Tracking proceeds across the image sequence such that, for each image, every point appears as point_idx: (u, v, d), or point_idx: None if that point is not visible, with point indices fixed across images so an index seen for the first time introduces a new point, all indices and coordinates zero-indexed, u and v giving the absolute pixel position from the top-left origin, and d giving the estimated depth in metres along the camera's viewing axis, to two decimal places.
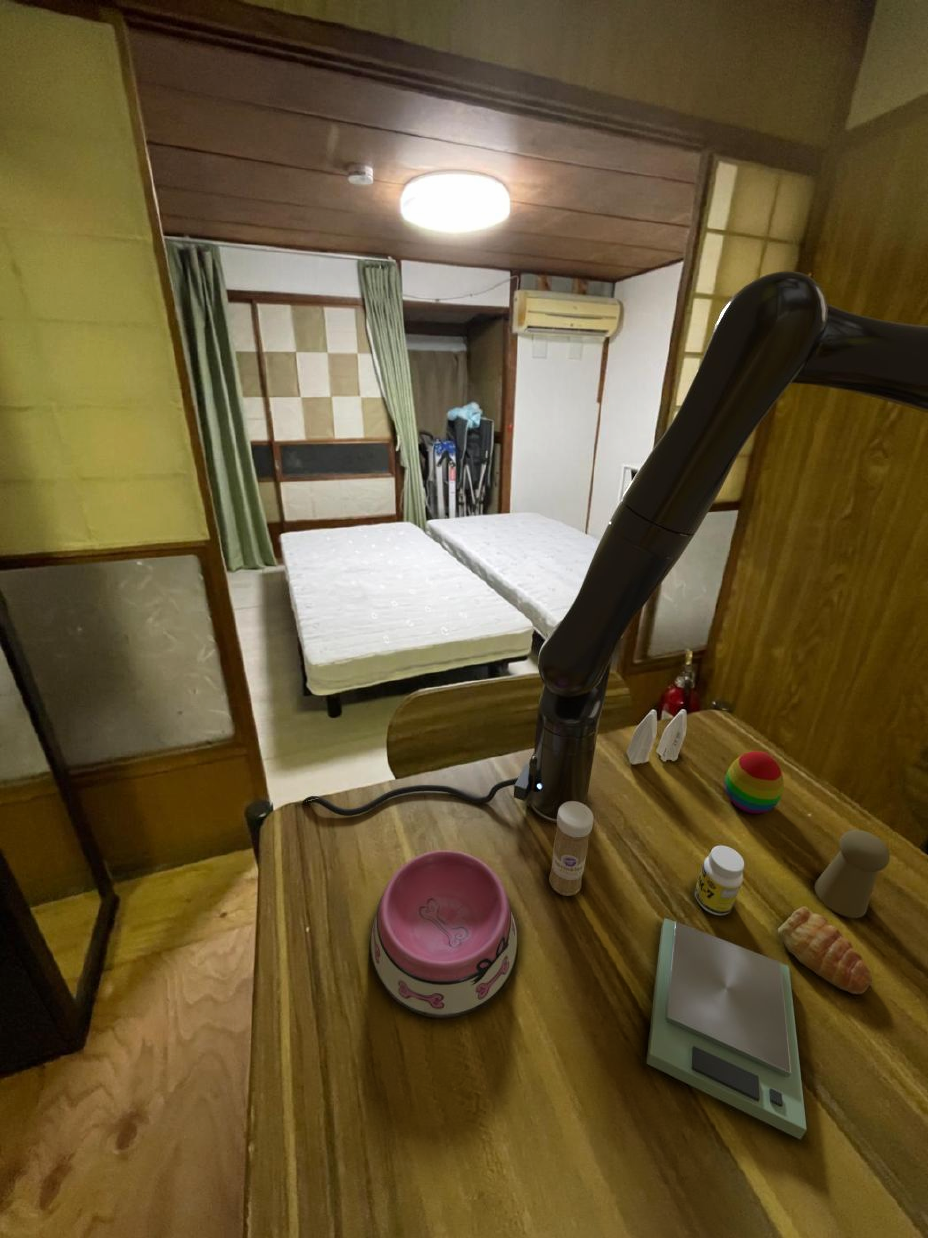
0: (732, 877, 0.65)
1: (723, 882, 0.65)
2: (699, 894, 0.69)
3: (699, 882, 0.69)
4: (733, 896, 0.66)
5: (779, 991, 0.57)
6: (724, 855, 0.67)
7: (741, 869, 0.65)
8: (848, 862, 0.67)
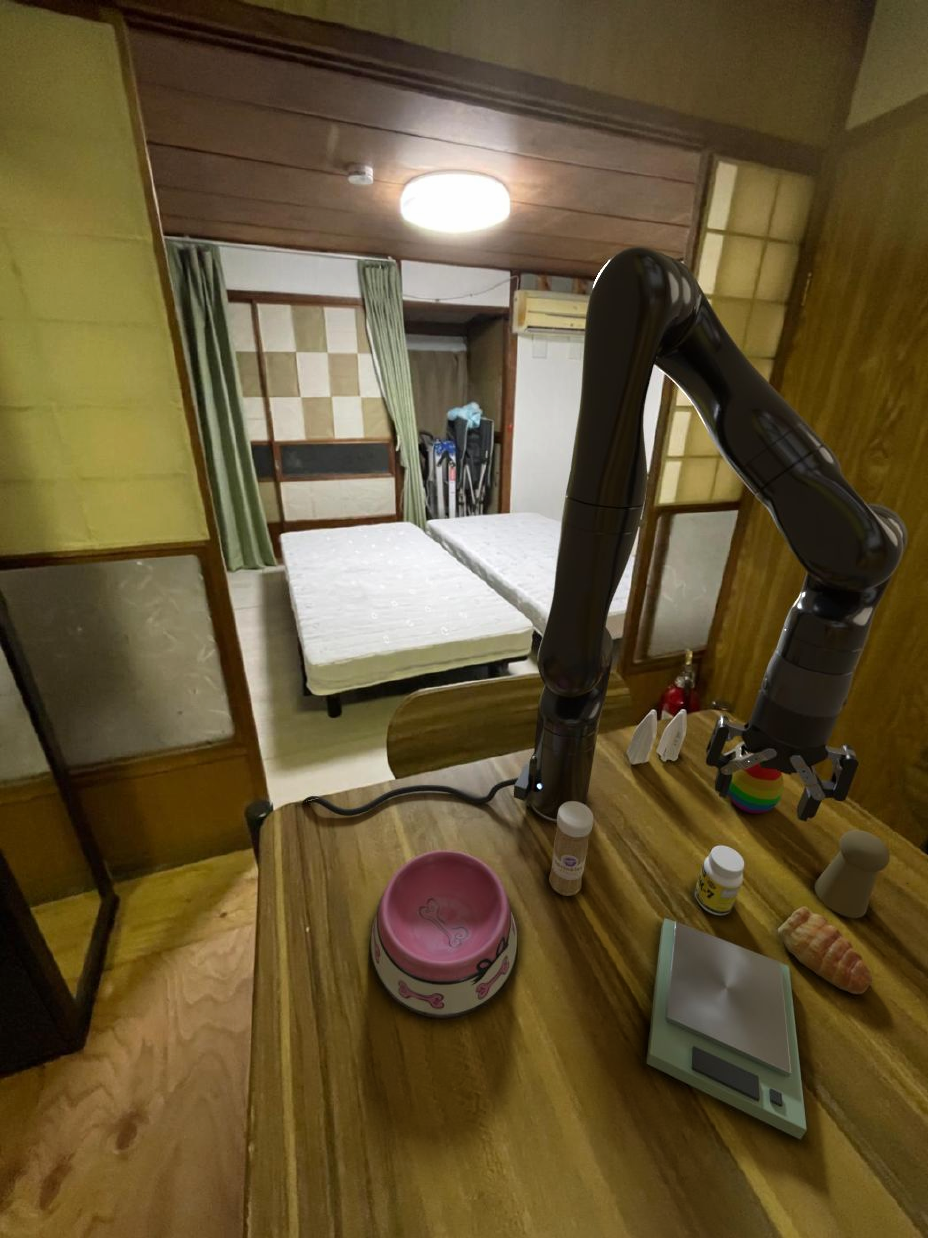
0: (732, 877, 0.65)
1: (723, 882, 0.65)
2: (699, 894, 0.69)
3: (699, 882, 0.69)
4: (733, 896, 0.66)
5: (779, 991, 0.57)
6: (724, 855, 0.67)
7: (741, 869, 0.65)
8: (848, 862, 0.67)
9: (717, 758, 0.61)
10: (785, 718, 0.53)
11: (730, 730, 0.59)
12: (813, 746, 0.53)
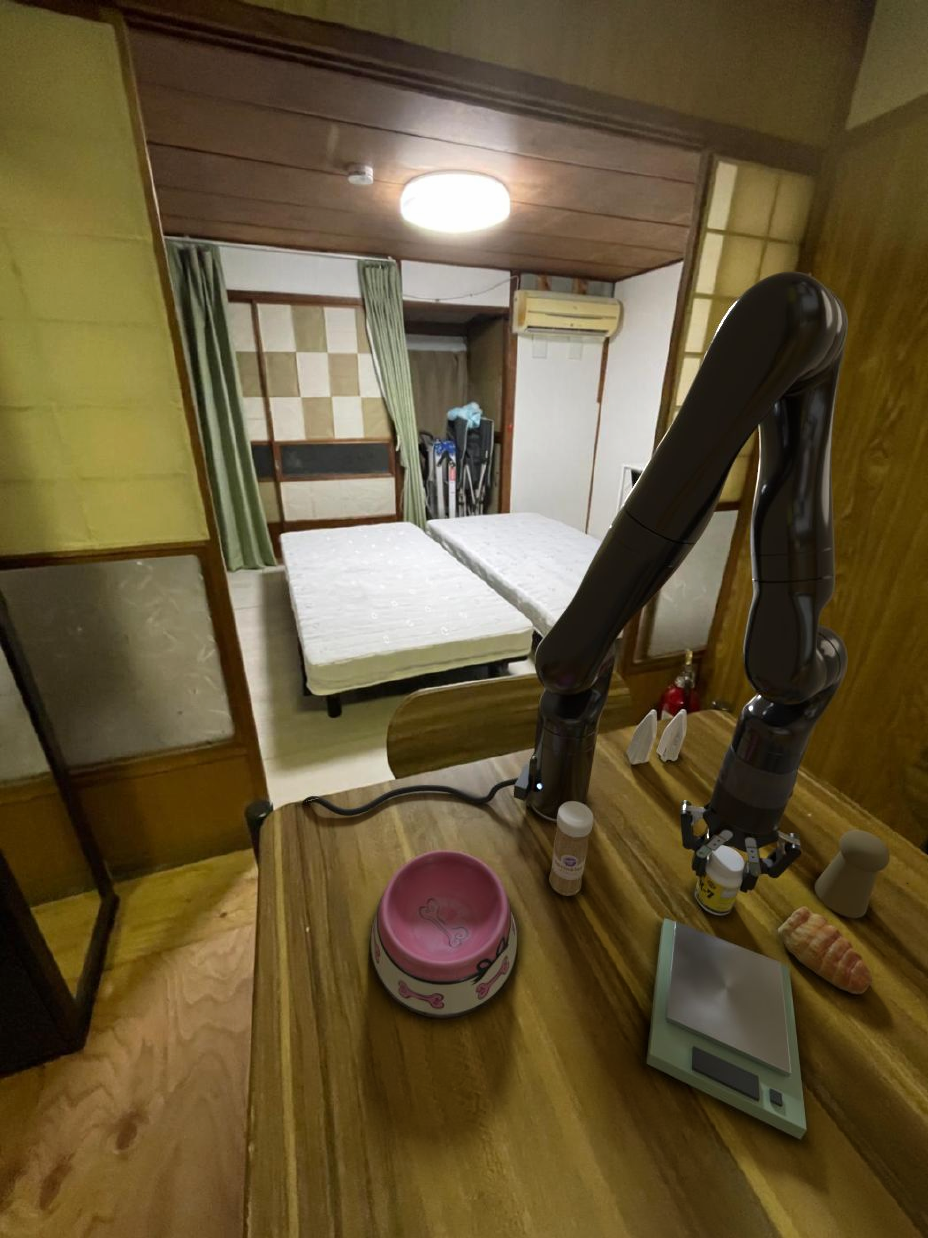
0: (732, 877, 0.65)
1: (723, 882, 0.65)
2: (699, 894, 0.69)
3: (699, 882, 0.69)
4: (733, 896, 0.66)
5: (779, 991, 0.57)
6: (724, 855, 0.67)
7: (741, 869, 0.65)
8: (848, 862, 0.67)
9: (691, 841, 0.66)
10: (738, 807, 0.59)
11: (692, 814, 0.65)
12: (763, 832, 0.59)
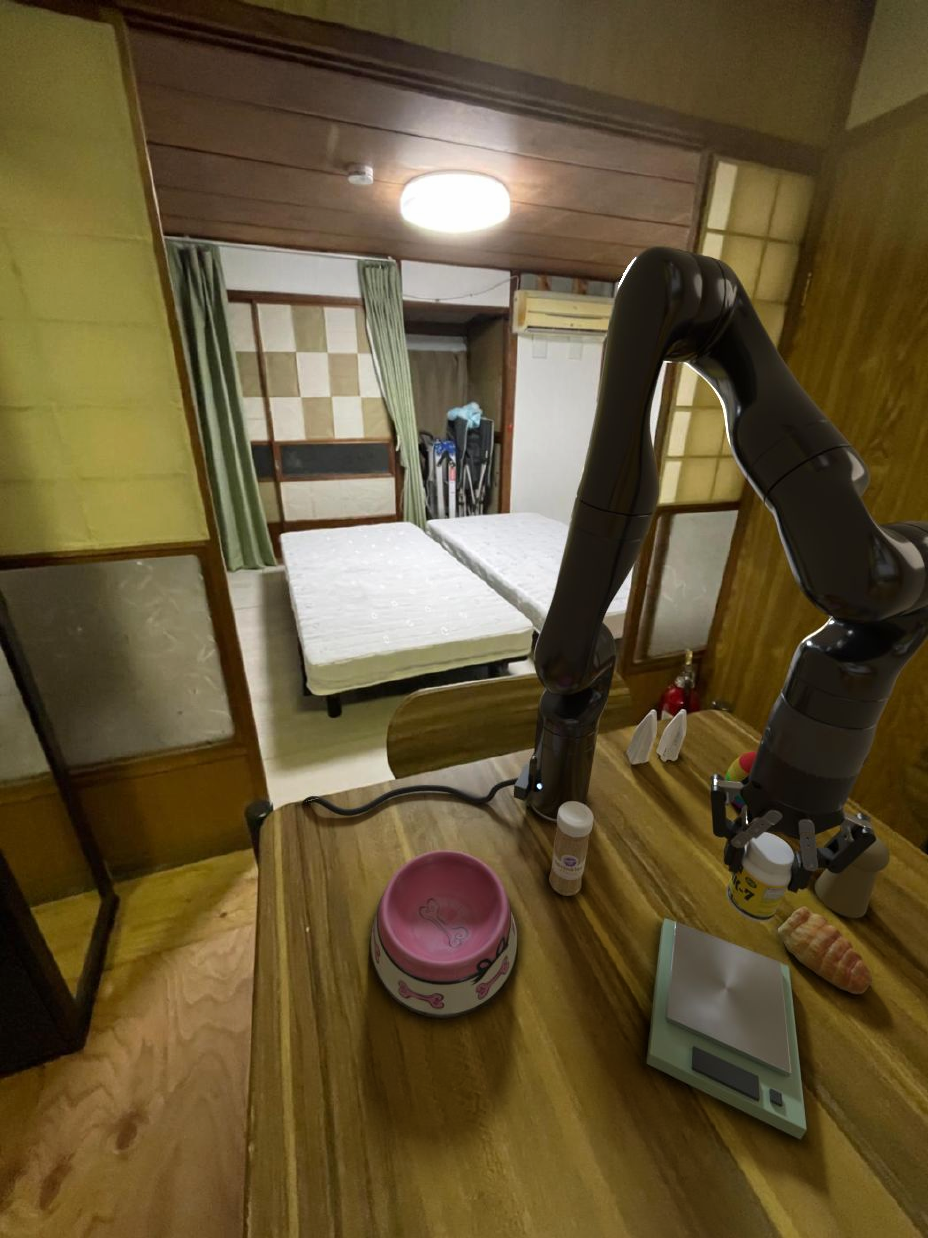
0: (779, 873, 0.50)
1: (767, 879, 0.50)
2: (733, 895, 0.54)
3: (733, 879, 0.54)
4: (779, 897, 0.51)
5: (779, 991, 0.57)
6: (767, 844, 0.52)
7: (791, 862, 0.50)
8: None
9: (724, 827, 0.51)
10: (793, 777, 0.44)
11: (726, 791, 0.50)
12: (827, 812, 0.44)
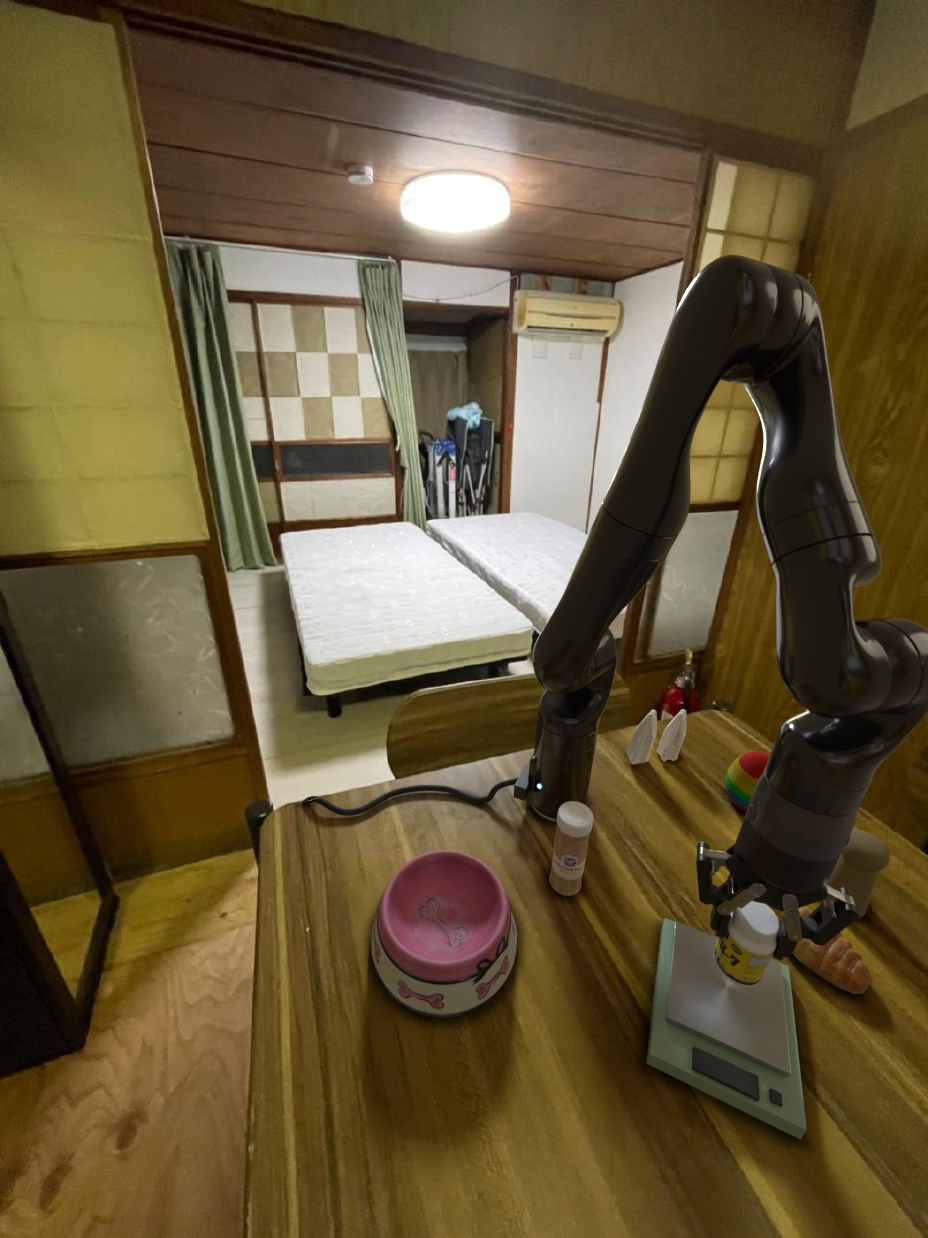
0: (764, 942, 0.50)
1: (753, 947, 0.51)
2: (720, 959, 0.54)
3: (720, 943, 0.54)
4: (764, 964, 0.52)
5: (779, 991, 0.57)
6: (753, 911, 0.52)
7: (775, 931, 0.50)
8: (848, 862, 0.67)
9: (710, 895, 0.52)
10: (775, 857, 0.44)
11: (711, 861, 0.51)
12: (809, 891, 0.45)
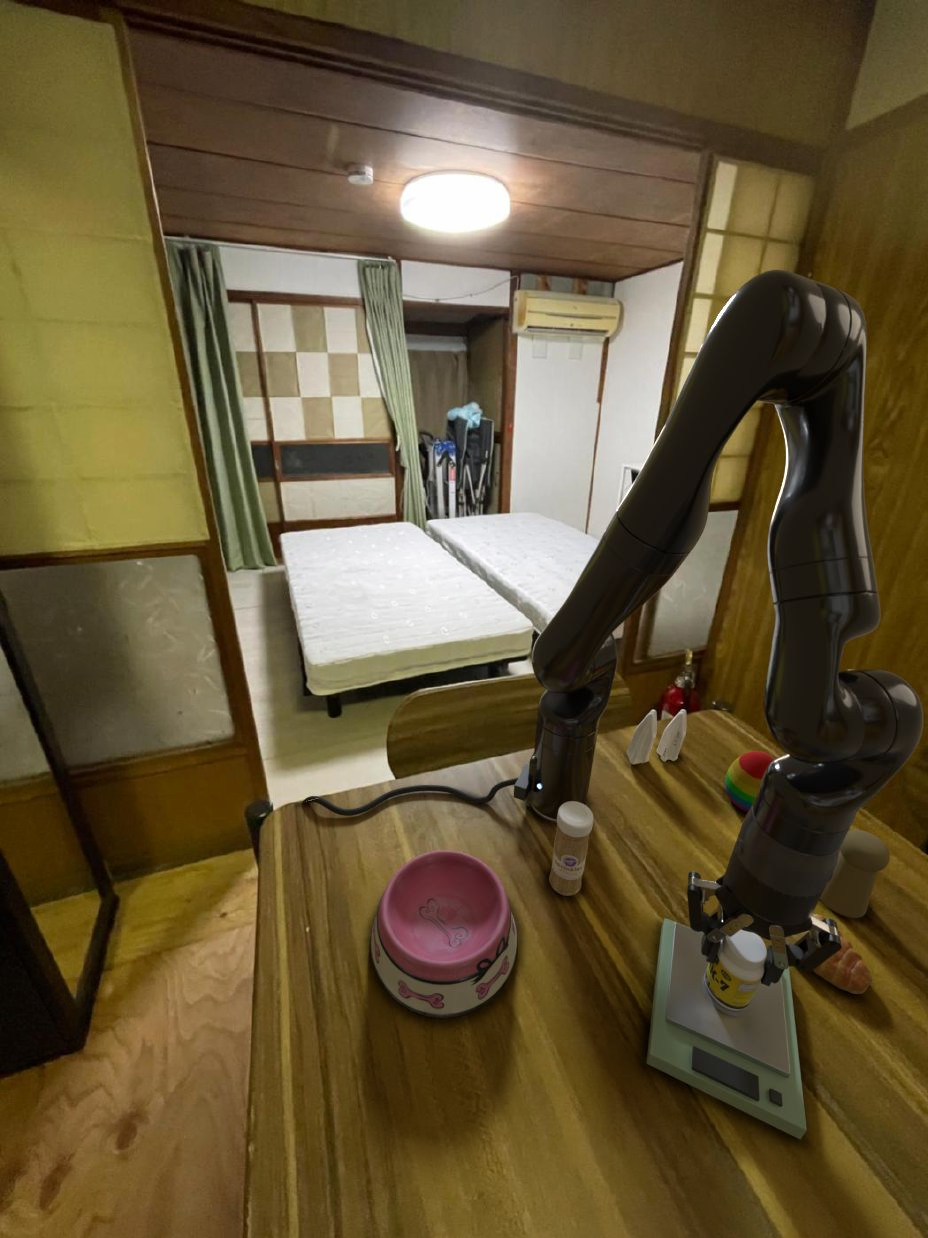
0: (752, 969, 0.52)
1: (741, 974, 0.53)
2: (710, 983, 0.56)
3: (710, 968, 0.56)
4: (753, 990, 0.54)
5: (779, 992, 0.57)
6: (742, 938, 0.54)
7: (763, 959, 0.52)
8: (848, 862, 0.67)
9: (700, 923, 0.54)
10: (761, 892, 0.46)
11: (702, 890, 0.53)
12: (794, 924, 0.46)
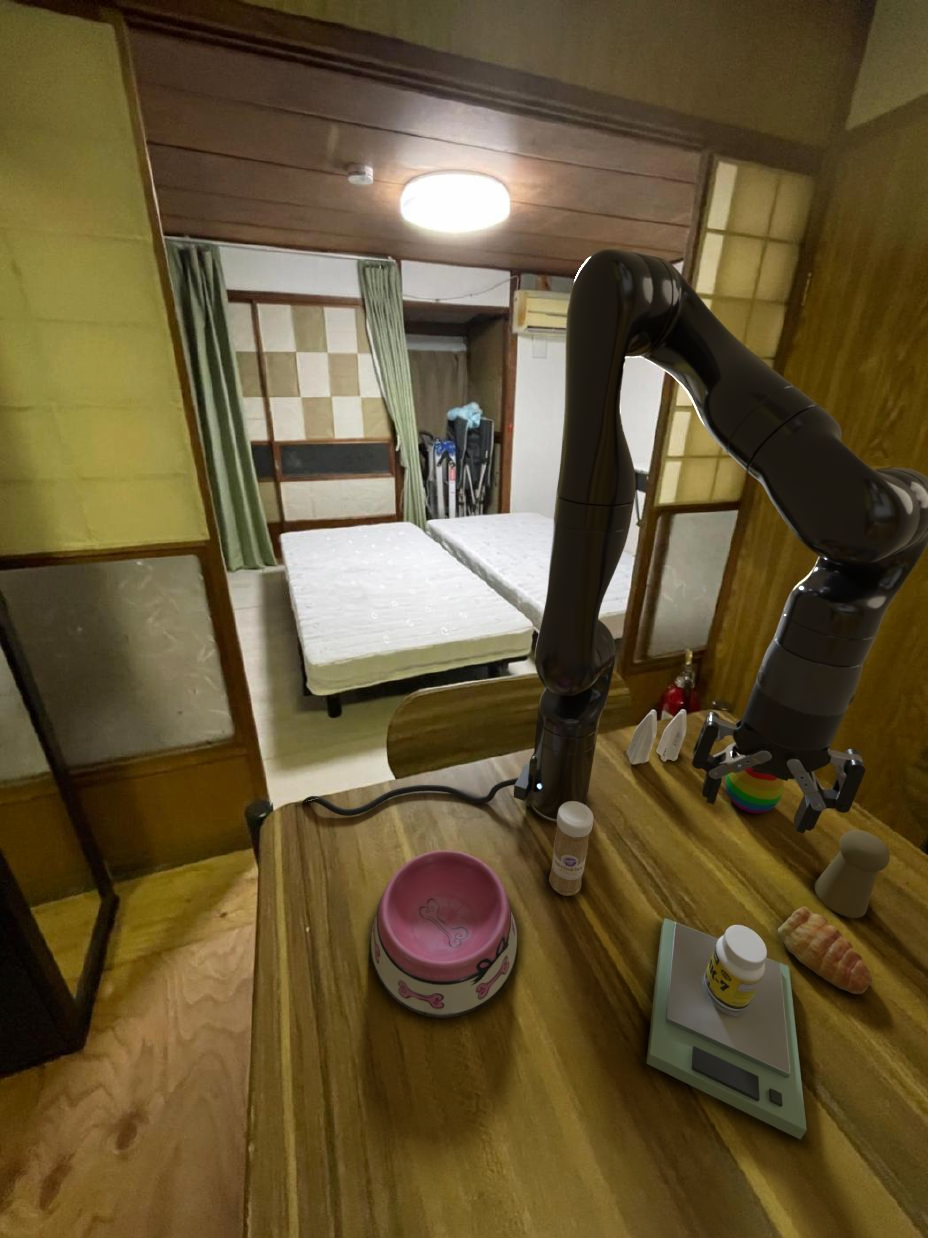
0: (752, 969, 0.52)
1: (741, 974, 0.53)
2: (710, 983, 0.56)
3: (710, 968, 0.56)
4: (753, 990, 0.54)
5: (779, 992, 0.57)
6: (742, 938, 0.54)
7: (763, 959, 0.52)
8: (848, 862, 0.67)
9: (705, 760, 0.54)
10: (782, 716, 0.46)
11: (720, 729, 0.53)
12: (813, 749, 0.47)
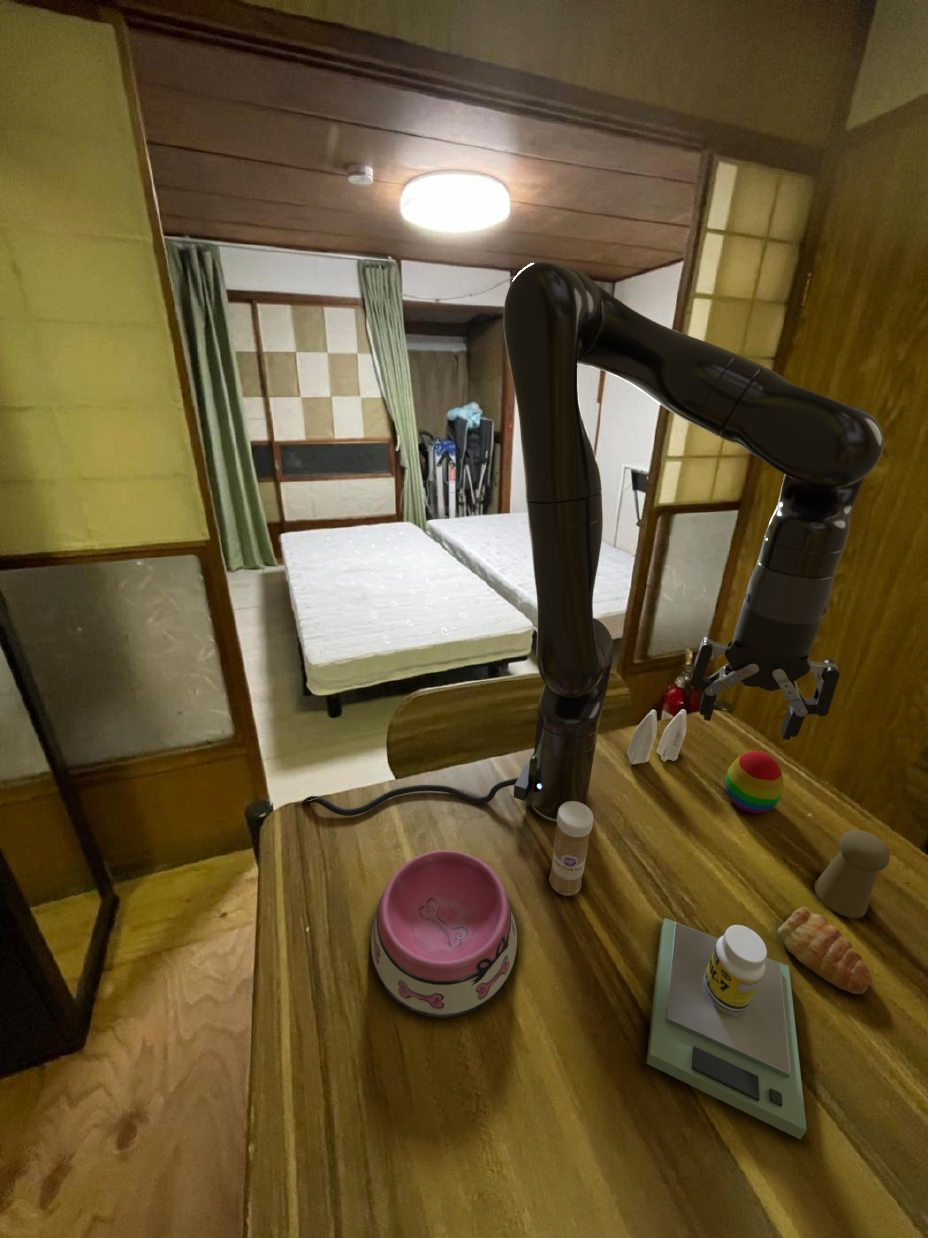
0: (752, 969, 0.52)
1: (741, 974, 0.53)
2: (710, 983, 0.56)
3: (710, 968, 0.56)
4: (753, 990, 0.54)
5: (779, 992, 0.57)
6: (742, 938, 0.54)
7: (763, 959, 0.52)
8: (848, 862, 0.67)
9: (701, 678, 0.61)
10: (766, 627, 0.54)
11: (713, 649, 0.60)
12: (794, 656, 0.54)
